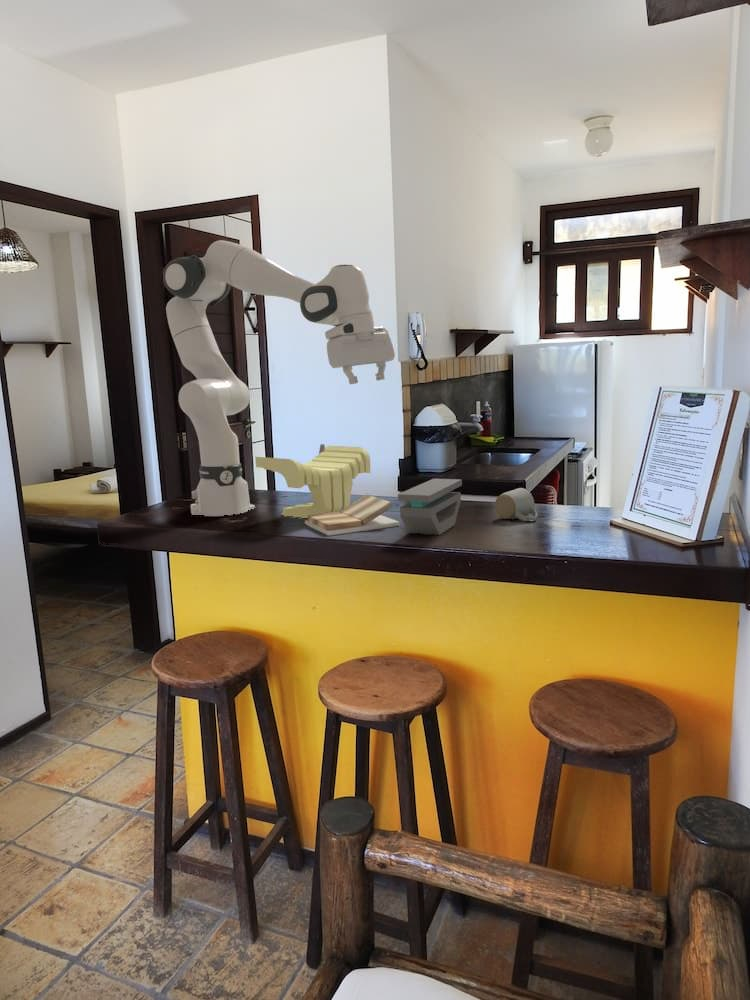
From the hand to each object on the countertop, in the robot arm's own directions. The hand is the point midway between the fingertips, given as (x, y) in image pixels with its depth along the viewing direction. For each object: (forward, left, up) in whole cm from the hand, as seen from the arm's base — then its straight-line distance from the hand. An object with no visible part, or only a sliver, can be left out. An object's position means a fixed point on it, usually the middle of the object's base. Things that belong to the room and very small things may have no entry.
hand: (367, 381), depth 184 cm
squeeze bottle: (-33, 0, -37) cm, 50 cm away
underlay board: (+2, -7, -37) cm, 38 cm away
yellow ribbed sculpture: (-17, -9, -37) cm, 42 cm away
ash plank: (+2, -2, -34) cm, 34 cm away
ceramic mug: (+20, +33, -37) cm, 54 cm away
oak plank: (+2, -12, -37) cm, 39 cm away
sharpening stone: (+18, +8, -37) cm, 42 cm away
